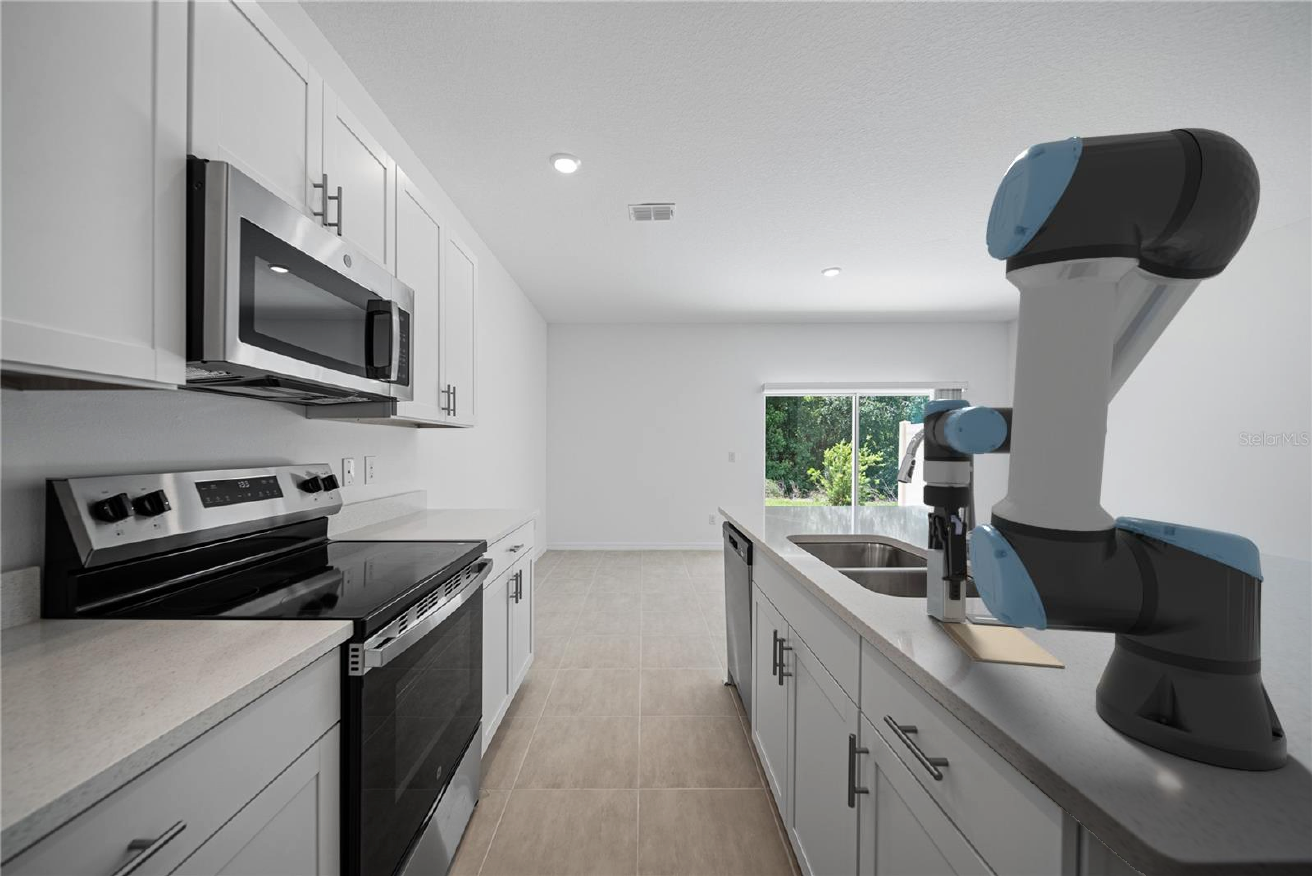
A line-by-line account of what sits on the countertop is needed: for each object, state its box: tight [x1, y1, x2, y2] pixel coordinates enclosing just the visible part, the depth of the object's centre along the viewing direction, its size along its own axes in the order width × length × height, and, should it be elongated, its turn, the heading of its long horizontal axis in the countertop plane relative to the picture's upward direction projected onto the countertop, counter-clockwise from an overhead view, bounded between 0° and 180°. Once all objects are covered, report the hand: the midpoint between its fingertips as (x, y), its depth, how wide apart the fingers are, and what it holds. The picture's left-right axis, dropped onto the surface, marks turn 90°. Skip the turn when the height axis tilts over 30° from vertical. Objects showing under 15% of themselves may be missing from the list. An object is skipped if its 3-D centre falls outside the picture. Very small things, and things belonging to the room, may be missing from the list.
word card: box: [966, 613, 1021, 628], centre depth 96 cm, size 5×8×1 cm, turn 78°
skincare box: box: [926, 548, 967, 624], centre depth 97 cm, size 6×4×12 cm
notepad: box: [938, 621, 1066, 668], centre depth 85 cm, size 16×12×1 cm
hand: (945, 610), depth 97 cm, fingers closed on skincare box, 7 cm apart
